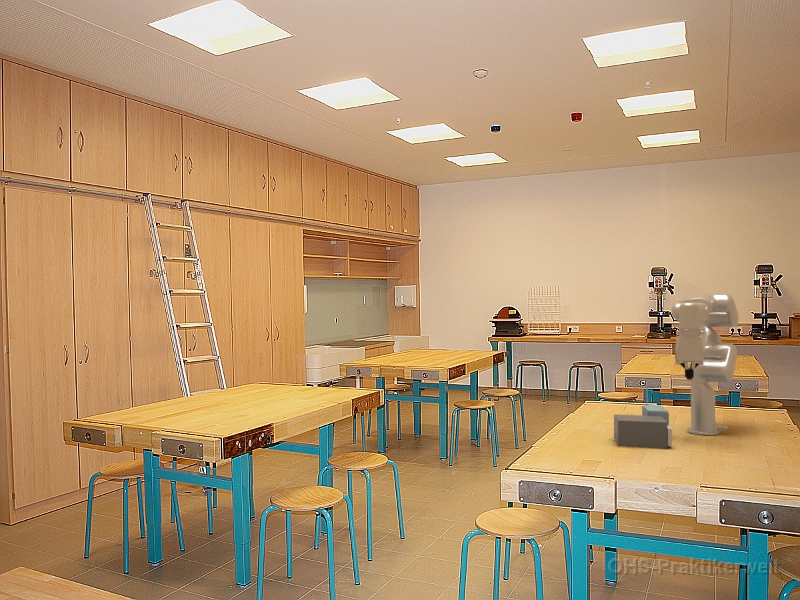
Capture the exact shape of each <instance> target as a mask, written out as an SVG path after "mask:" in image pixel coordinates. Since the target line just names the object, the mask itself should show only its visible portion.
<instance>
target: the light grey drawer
mask: <svg viewBox="0 0 800 600" xmlns="http://www.w3.org/2000/svg"><path fill="white" fill-rule="evenodd" d="M668 446H669V447H672V446H673V429H672V427H671V426H670V425H669V426H668V425H667V447H668Z"/></svg>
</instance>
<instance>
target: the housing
mask: <svg viewBox="0 0 800 600" xmlns="http://www.w3.org/2000/svg"><path fill="white" fill-rule="evenodd" d="M614 439H615V440H614ZM613 440H614V441H616V442H615V443H617V444H616V446H617V447H620V446H628V447H627V448H643V447H647V449H648V448H649V449H666V448H667V449H668V445H667V422H666V421H665V420H664V419H663V418H662V417H661V416H643V415H642V414H641V415H640V414H639V415H638V414H613Z"/></svg>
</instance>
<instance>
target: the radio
mask: <svg viewBox="0 0 800 600" xmlns="http://www.w3.org/2000/svg"><path fill="white" fill-rule="evenodd" d="M648 388H649V387H648V386H646V404H642V405H641V409H642V410H641V411H642V412H641V413H642V414H641V415H643V416H661V417H662V418H663V419H664V420H665V421H666V422H667V425H668V426H669V427H670V416H669V415H670V413H669V411H668V410H667V409H666V408H665V407H664V406H663V405H660V404H659V405H658V404H656V405H655V404H649V396H648V393H649V392H648V390H649V389H648Z"/></svg>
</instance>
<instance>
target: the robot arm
mask: <svg viewBox="0 0 800 600" xmlns="http://www.w3.org/2000/svg"><path fill="white" fill-rule="evenodd" d="M670 311H671V316H672V318H673V319H674V320H676V321H678V323H679V324H678V325H679V326H678V328H679V330H678V332H679V333H678V336H677V337H676V341H675V347H674V360H675V361H674V364H675V365H678V366H681V367H682V368H683V369H684V378H686V380H688V381H690V427H688V428H687V429H686V432H688V433H689V434H693V435H698V436H699V435H700V436H717V435H719V434H720V430H723V431H725V430H726V431H727V430H728V424H719V423H717V422H716V392H715V389H714V388H713V387H712V385H711V384H710V383H722V384H725V383H727V384H728V383H730V382H731V381H732V380H733V378H734V375H735V369H736V365H737V359H738V351H737V348H736V346H735V344H733V343H730V342H722V336H721V335H720V334H719V333H718V332H717V331H716V330H715V329H714V328H725V329H727V328H728V329H729V328H735V327H737V326H738V323H739V318H740V316H739V312H738V309H737V305H736V302H735V300H734V298H733V296H732V295H731V294H729V293H704V294H701V295H700V296H698V297H693V298H687V299H681V300H677V301H675V302H674V303H673V305H672V306H671V310H670ZM688 363H689V364H688Z"/></svg>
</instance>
